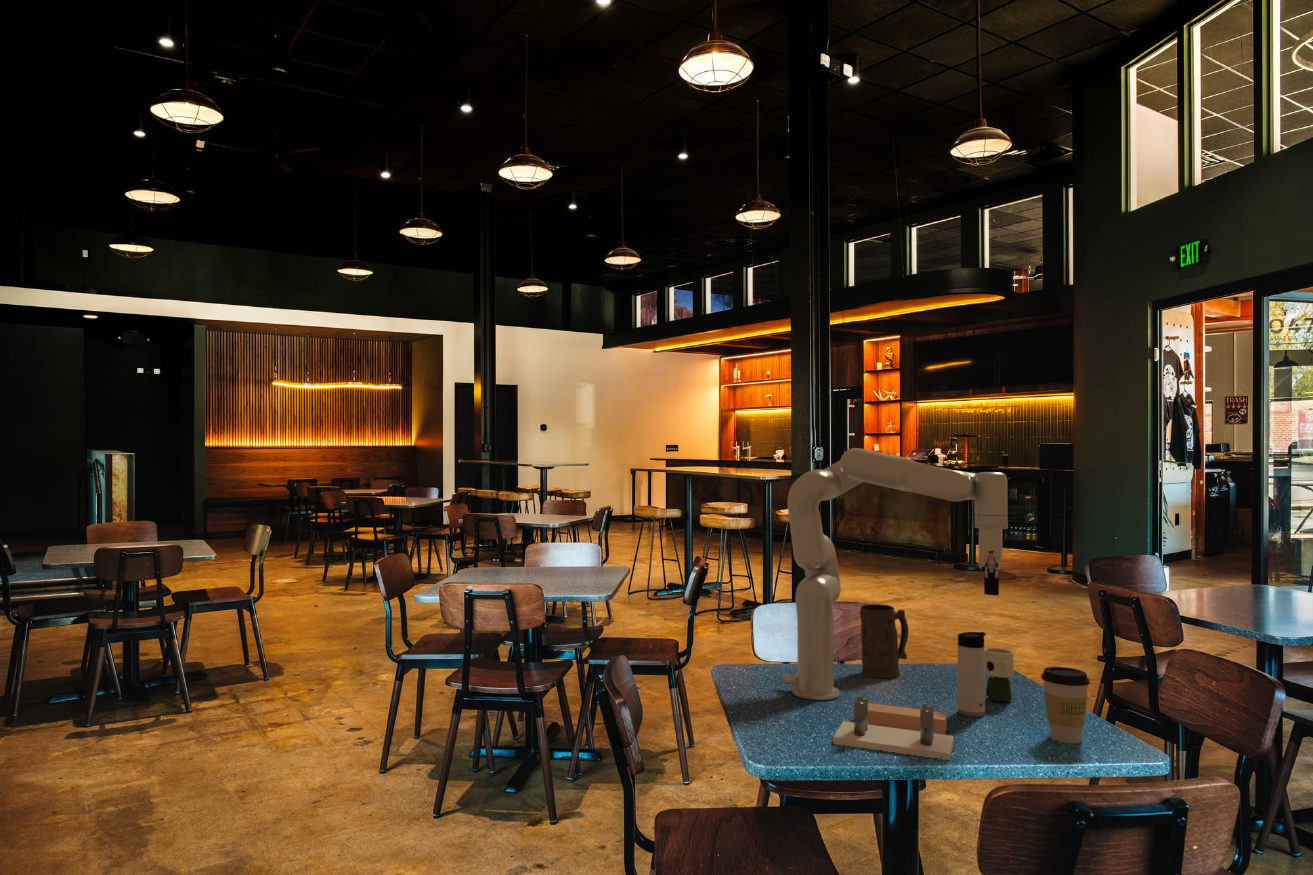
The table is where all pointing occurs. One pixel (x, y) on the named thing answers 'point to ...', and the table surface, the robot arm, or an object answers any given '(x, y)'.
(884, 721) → the shelf board
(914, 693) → the table surface
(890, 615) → the beer stein
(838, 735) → the peg base
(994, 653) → the character mug
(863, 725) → the steel pegs
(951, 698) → the table surface
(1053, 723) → the coffee cup
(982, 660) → the travel mug
